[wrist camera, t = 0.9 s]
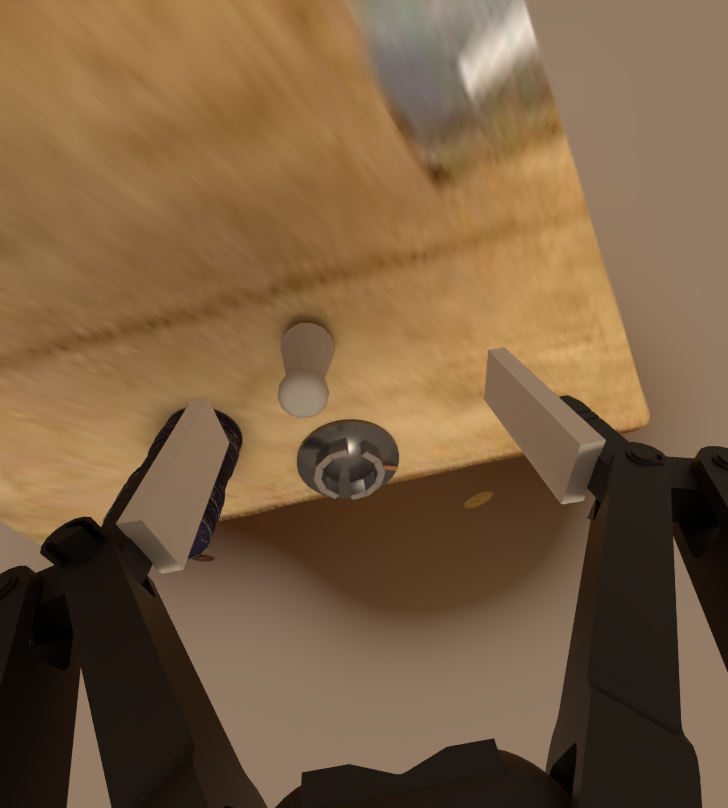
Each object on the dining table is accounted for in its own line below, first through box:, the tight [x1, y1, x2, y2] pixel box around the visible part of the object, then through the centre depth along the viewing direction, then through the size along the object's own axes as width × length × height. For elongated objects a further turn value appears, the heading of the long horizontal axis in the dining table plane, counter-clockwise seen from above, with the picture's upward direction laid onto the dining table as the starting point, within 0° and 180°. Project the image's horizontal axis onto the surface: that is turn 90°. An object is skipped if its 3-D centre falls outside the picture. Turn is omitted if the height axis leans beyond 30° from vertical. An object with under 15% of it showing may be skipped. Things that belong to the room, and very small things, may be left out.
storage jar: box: [102, 408, 242, 560], centre depth 38 cm, size 10×10×15 cm
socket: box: [297, 420, 399, 500], centre depth 48 cm, size 15×15×3 cm
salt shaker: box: [278, 323, 335, 418], centre depth 33 cm, size 6×6×13 cm
